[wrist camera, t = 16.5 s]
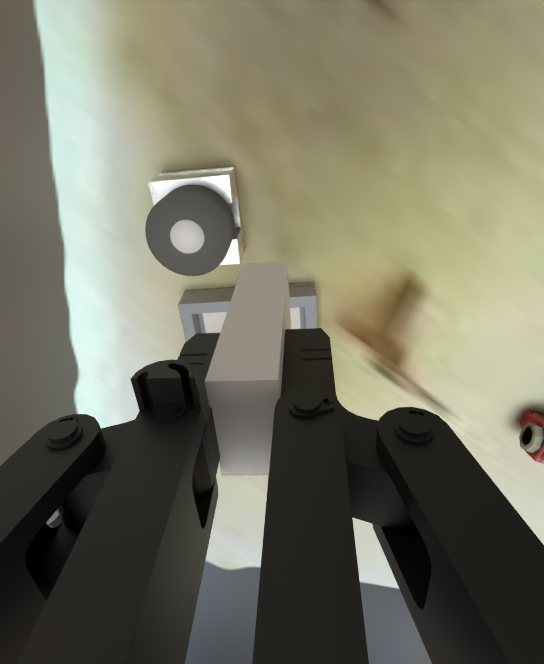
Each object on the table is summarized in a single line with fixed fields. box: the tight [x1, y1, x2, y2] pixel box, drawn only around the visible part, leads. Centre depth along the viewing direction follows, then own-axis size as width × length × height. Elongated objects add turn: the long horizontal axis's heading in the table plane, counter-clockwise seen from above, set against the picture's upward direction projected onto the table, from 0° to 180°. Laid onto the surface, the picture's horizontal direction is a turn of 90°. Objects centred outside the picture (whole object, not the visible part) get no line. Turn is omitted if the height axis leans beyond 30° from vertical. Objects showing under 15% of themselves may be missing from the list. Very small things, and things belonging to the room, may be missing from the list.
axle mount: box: [149, 166, 245, 269], centre depth 35 cm, size 7×6×4 cm
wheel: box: [145, 185, 235, 276], centre depth 33 cm, size 6×6×6 cm
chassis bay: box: [178, 282, 317, 342], centre depth 41 cm, size 12×12×3 cm
